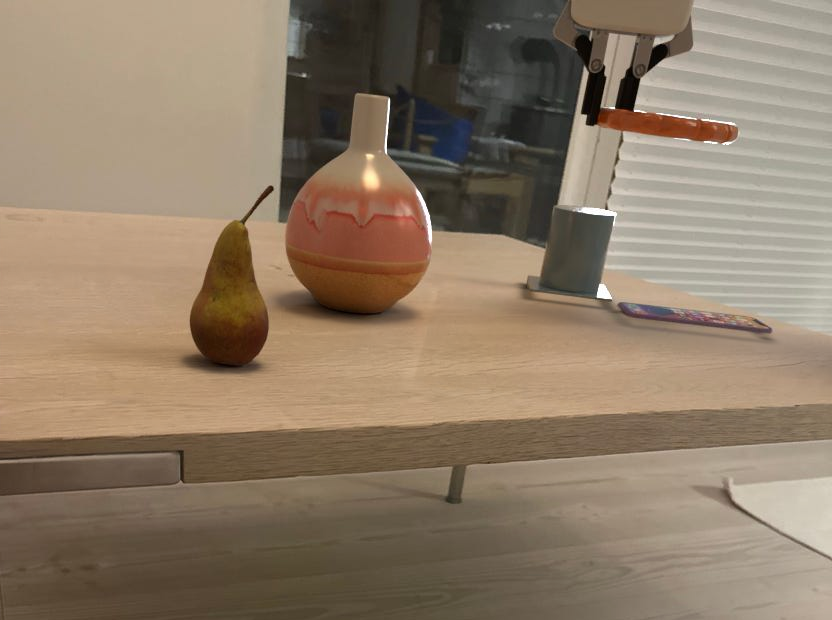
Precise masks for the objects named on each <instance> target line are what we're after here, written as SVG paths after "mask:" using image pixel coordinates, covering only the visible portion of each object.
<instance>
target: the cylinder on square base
mask: <svg viewBox="0 0 832 620" xmlns="http://www.w3.org/2000/svg"><path fill="white" fill-rule="evenodd" d="M616 217H617V213H616V212H613V211H609V210H605V209H600V208H594V207H589V206H588V207H587V206H579V205H569V204H556V205H555V204H554V205H553V207H552V211H551V217H550V223H549V227H548V233H547V237H546V243H545V248H544V253H543V259H542V263H541V268H540V274H539V276H538V275H537V276H536V275H529V274H528V275H527V278H526V283H525V284H526V287H527V290H529V292H535V293H541V294H551V295H558V296H565V297H566V296H567V297H573V298H581V299H582V298H583V299H587V300H589V299H590V300H597V301H606V302H613V298H612V296H611V294H610V293H609V291H608V290H607V288H606V286H605V285H604V284H601V283H602V279H603V274H604V269H605V265H606V260H607V256H608V253H609V252H608V251H609V247H610V243H611V239H612V234H613V231H614V230H613V229H614V225H615V220H616Z"/></svg>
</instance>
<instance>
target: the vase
mask: <svg viewBox="0 0 832 620" xmlns="http://www.w3.org/2000/svg"><path fill="white" fill-rule="evenodd" d="M353 101H354V102H353V109H352V119H351V127H350V128H351V129H350V138H349V144H348V148H347V149H346V150H345V151H343V153H341V154H339V155H338V156H337V157H334V158H333V159H331V160H330V161H329V162H327V163H326V164H325V165H324V166H322V167H320V168H319V170H317V171H316V172H315V173H313V175H312V176H311V177H310V178H309V179H308V180H307V181H306V182H305V184H304V185H303V186H301V188H300V189H299V192H298V193H297V194H296V197H295V198H294V200H293V201H292V205H291V206H290V210H289V214H288V218H287V221H286V226H285V233H284V237H285V238H284V246H285V253H286V257H287V261H288V263H289V266H290V268H291V270H292V272H293V274H294V276H295V277H296V279H297V280H298V282H299V283H300V284H301V285H302V286H303V287H304V288H305V289H306V290H307V291H308V292H309V294H310V295H311V297H312V298H313V299H314V300H315V302H317V304H319V305H320V306H323V307H325V308H328V309H331V310H333V311H334V310H335V311H340V312H345V313H352V314H377V313H383V312H386V311H388V310H390V309H391V308H393V307H394V306H395V305H396V303H397V302H399V301H401V300H403V298H405V297H406V296H408V295H409V294H410V293H411V292H413V290H414V289H415V288H416V287H417V286H418V285H419V283H420V282H421V281H422V280H423V278H424V276H425V274H426V272H427V270H428V268H429V264H430V262H431V259H432V258H431V257H432V251H433V229H432V222H431V217H430V212H429V210H428V208H427V205H426V204H427V203H426V202H425V200H424V198H423V196H422V194H421V192H420V191H419V189H418V188H417V186H416V184H415V183H414V182H413V181H412V180H411V179H410V177H409V175H408V174H407V173H406V172H405V171H404V170H403V169H402V168H401V167H400V166H399V165H398V164H397V162H395V161H394V160H393V159H392V158H391V157H390V156H389V154H388V153H387V141H388V129H389V118H390V105H391V99H390V97H389V96H385V95H378V94H369V93H359V92H357V93H355V95H354V100H353Z"/></svg>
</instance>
